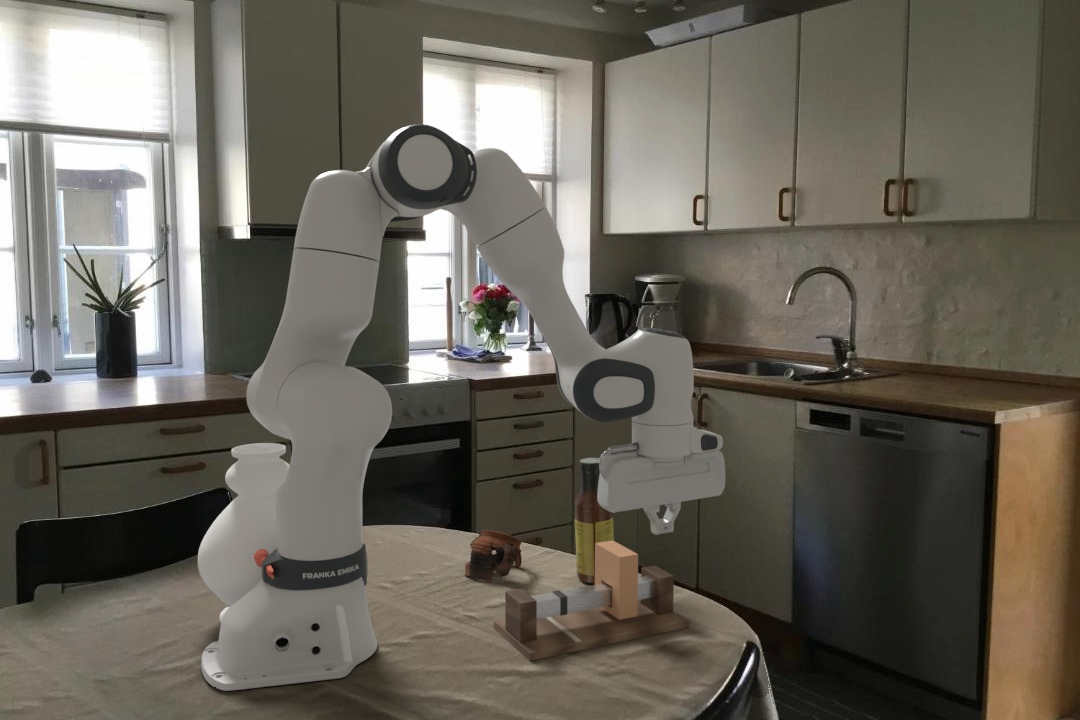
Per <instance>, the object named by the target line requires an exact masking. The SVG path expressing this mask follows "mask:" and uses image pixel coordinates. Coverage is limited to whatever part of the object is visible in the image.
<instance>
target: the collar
mask: <svg viewBox="0 0 1080 720" xmlns="http://www.w3.org/2000/svg"><path fill="white" fill-rule="evenodd" d="M638 577H639V554H638V553H636V552H634V551H633V550H631V549H629V548H627V547H626V546H623V545H622V544H620V543H619V542H616V541H615V540H614V541H613V540H612V541H606V542H599V543H595V584H594V585H597V584H602V583H607V584H608V585H610V586H612V605H609V606H604V607H601V608H603V609H604V610H606V611H607V612H609V613H610V614H612V615H613V616H614V617H616V618H617V619H619V620H620V619H625V618H630V617H635V616H637V609H638Z"/></svg>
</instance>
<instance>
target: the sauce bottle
mask: <svg viewBox="0 0 1080 720" xmlns="http://www.w3.org/2000/svg"><path fill="white" fill-rule="evenodd" d="M599 460H600V457H586V458H582V459H580V460H579V469H580V480H581V481H580V489H579V490H578V492H577V494H576V496H575V497H574V513H575V515H574V528H575V529H574V530H575V531H574V532H575V536H574V537H575V558H576V559H575V561H576V562H575V563H576V564H575V565H576V567H575V568H576V573H577V578H578V580H579V581H581V582H582V583H585V584H592V585H595V543H599V542H606V541H612V540H613V541H615V539H614V537H615V536H614V516H613V513H612V512H609V511H607V510H605V509H603V508H602V507H601V506H600V505H599V503H598V501H597V493H598V482H599V475H600V469H599Z"/></svg>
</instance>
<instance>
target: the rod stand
mask: <svg viewBox="0 0 1080 720" xmlns="http://www.w3.org/2000/svg"><path fill="white" fill-rule="evenodd" d="M674 578H675V577H674V575H673V574H671V573H670V572H668V571H666V570H664V569H662V568H660V567H658V566H657V565H655V564H654V565H650V566H643V567H641V568H640V576H638V609H637V616H635V617H630V618H625V619H620V620H619V619H617V618H616V617H614V616H613V615H612V614H610V613H609V612H607V611H606V610H604V609H603V608H601V607H604V606H609V605H612V586H610V585H608V584H607V583H602V584H597V585H595V584H592V585H586V586H581V587H575V588H568V589H563V590H559V589H557V590H553V591H552V592H547V593H542V594H536V595H530V594H528V593H527V592H526V591H525V590H523V589H522V588H518V589H517V588H516V589H513V590H512V589H511V590H506V591H505V592H504V594H505V595H504V599H505V604H504V605H505V607H504V609H505V611H504V612H505V614H504V615H505V616H504V617H505V618H503V619H502V618H501V619H497V620H493V629H494V630H496V632H498V633H499V634H500V635H501V636H502V637H503V638H504V639H505V640H506V641H507V642H509V643H510V644H511V645H512V646H513V647H514V649H516V650H517V651H518V652H519V653H520V654H522V655H523V656H524V657H525V659H527V661H529V662H530V661H535V660H541V659H546V658H551V657H554V656H559V655H565V654H569V653H574V652H578V651H583V650H589V649H593V648H597V647H601V646H607V645H612V644H616V643H621V642H626V641H631V640H635V639H640V638H645V637H649V636H654V635H658V634H659V635H660V634H663V633H669V632H674V631H679V630H682V629H687V628H689V624H690V621H689V619H687V618H685V617H683V616H682V615H680V614H679V613H677V612H676V611H674V589H675V588H674V582H675V581H674V580H675V579H674Z"/></svg>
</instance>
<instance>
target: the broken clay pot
mask: <svg viewBox="0 0 1080 720" xmlns="http://www.w3.org/2000/svg"><path fill="white" fill-rule="evenodd" d="M521 545H522V541H521V540H520V539H519V538H517V537H515V536H512V535H510V534H507V533H505V532H504V533H503V532H501V531H496V530H490V529H486V530H485V529H480V530H479V531H478V536H477V537H475V538H474V539H473V540H472V542H471V543H470V545H469V547H470V548H471V551H470V557H469V558H470V561H468V562H466V563H465V565H464V566H465V569H464V572H465V573H464V576H466V577H470V578H471V577H472V578H474V579H478V580H482V581H485V582H489V581H491V582H492V580H493V576H494V572H495V573H496V574H497V576H499V577H502V578H503V577H507V576H509V574H510V571H511V569H512V567H513V565H514V567H515V569H518V568H521V566H522V558H523V557H522V550H521ZM493 552H495V553H493Z"/></svg>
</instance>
